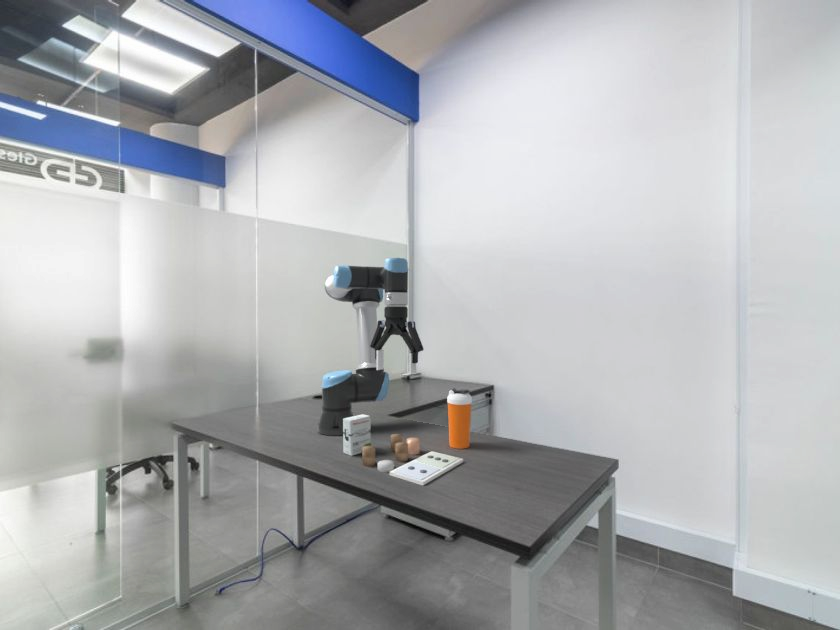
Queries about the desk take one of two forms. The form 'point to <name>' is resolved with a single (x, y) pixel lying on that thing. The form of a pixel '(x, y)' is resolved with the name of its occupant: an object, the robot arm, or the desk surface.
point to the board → (426, 467)
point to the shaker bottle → (459, 418)
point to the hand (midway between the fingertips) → (395, 371)
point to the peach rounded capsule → (413, 446)
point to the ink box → (356, 434)
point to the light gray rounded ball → (385, 466)
